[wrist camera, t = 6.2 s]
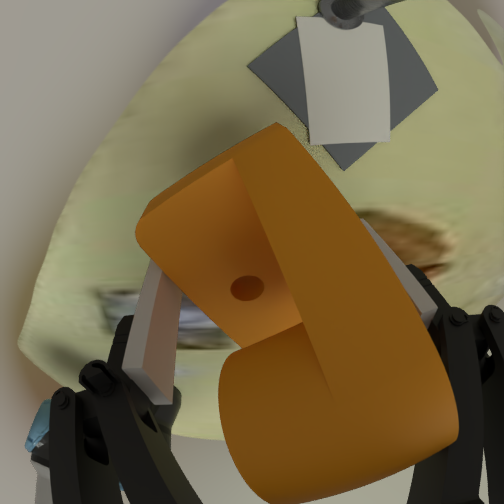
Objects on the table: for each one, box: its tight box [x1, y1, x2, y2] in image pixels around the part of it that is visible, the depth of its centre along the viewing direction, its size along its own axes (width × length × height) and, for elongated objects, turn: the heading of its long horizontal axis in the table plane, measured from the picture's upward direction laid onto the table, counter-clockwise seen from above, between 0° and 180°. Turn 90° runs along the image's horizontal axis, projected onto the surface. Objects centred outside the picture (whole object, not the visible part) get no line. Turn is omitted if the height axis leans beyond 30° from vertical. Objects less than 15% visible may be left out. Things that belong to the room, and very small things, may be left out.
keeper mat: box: [247, 7, 438, 171], centre depth 20 cm, size 16×17×1 cm
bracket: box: [135, 122, 459, 504], centre depth 9 cm, size 11×7×12 cm, turn 30°
